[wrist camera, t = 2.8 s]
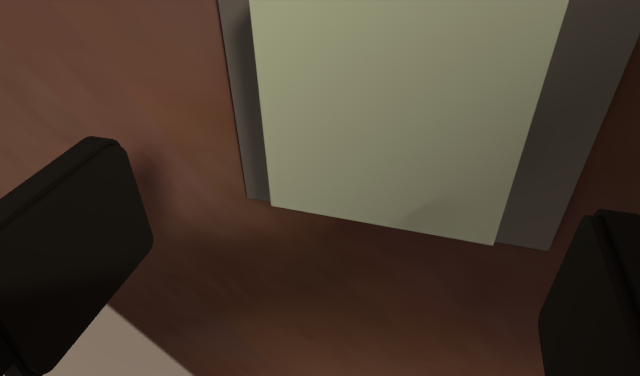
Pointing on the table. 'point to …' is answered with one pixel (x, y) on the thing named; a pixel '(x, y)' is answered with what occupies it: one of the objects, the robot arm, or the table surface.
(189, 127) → the table surface
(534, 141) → the mat
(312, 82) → the block
